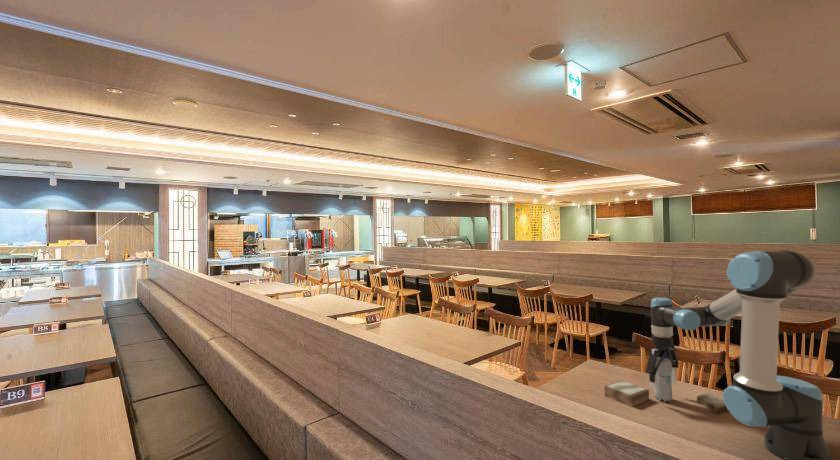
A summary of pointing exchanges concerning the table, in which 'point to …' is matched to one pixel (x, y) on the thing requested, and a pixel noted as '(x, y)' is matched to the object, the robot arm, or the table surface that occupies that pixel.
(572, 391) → the table surface
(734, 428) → the table surface
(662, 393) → the bottle
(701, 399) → the stone
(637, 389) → the picture frame
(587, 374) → the table surface
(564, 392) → the table surface
